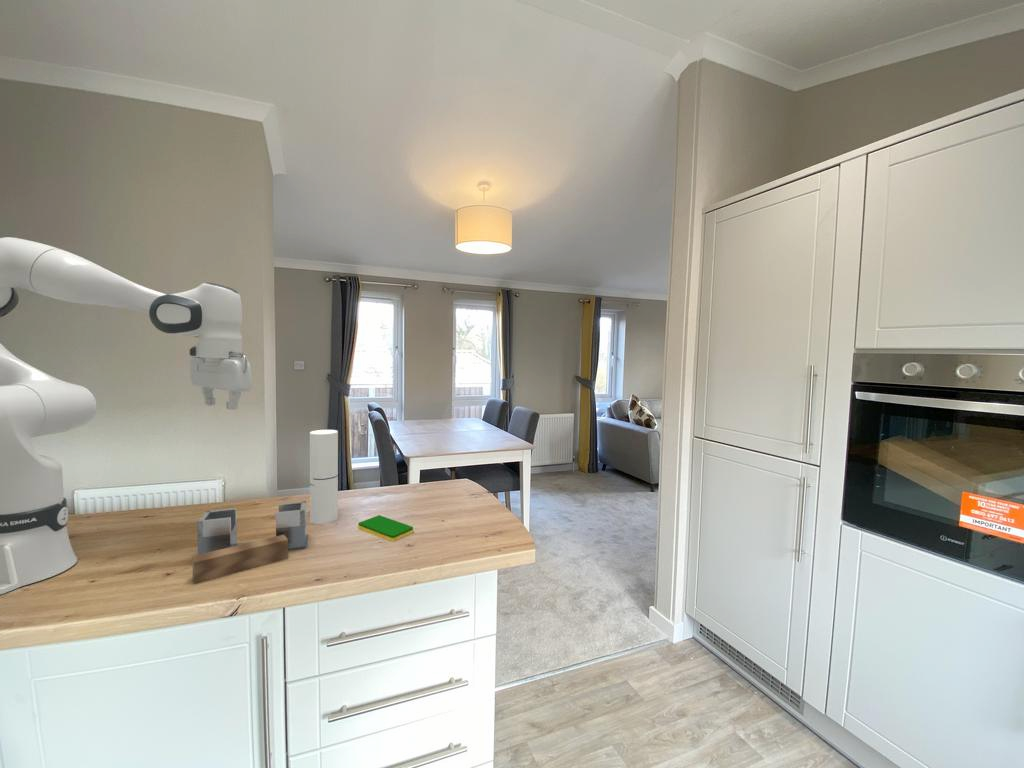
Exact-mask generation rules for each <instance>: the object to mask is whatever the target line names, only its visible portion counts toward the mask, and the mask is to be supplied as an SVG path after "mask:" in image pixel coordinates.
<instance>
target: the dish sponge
mask: <svg viewBox="0 0 1024 768" xmlns="http://www.w3.org/2000/svg"><path fill="white" fill-rule="evenodd" d="M358 530H359V531H363V532H365V533H368V534H371V535H373V536H376V537H378V538H381V539H383V540H387V541H390V542H392V543H393V542H395V541H398V540H400V539H403V538H405V537H408V536H409V535H411V534H413V533H414V527H413V526H412V525H408V524H405V523H402V522H400V521H397V520H395V519H392V518H388V517H386V516H383V515H381V514H379V515H376V516H373V517H371V518H368V519H365V520H362V521H360V522H358Z"/></svg>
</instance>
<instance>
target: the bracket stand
mask: <svg viewBox="0 0 1024 768" xmlns="http://www.w3.org/2000/svg"><path fill="white" fill-rule="evenodd" d="M196 523H197V524H196V525H197V526H196V527H197V555H199V554H204V553H208V552H212V551H216V550H220V549H225V548H229V547H233V546H237V545H242V544H246V543H250V542H251V541H245V542H239V543H238V536H237V535H238V530H237V529H238V527H237V526H238V525H237V523H238V522H237V507H233V508H224V509H215V510H214V509H213V510H206V511H204V512H203V514H202V516H201V517H200V518H199V520H198V521H197V522H196ZM279 535H285V536H286V538H287V539H288V552H290V551H297V550H298V551H299V550H302V549H303V550H305V549H308V545H309V538H310V536H309V535H310V534H308V533H307V500H304V501H295V502H284V503H279V504H278V511H277V512H275V536H279ZM254 541H255V540H254ZM254 541H252V542H254Z"/></svg>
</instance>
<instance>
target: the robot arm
mask: <svg viewBox="0 0 1024 768" xmlns="http://www.w3.org/2000/svg"><path fill="white" fill-rule="evenodd" d="M16 288H17V289H23V290H28V291H30V292H33V293H36V294H39V295H42V296H45V297H48V298H52V299H56V300H59V301H63V302H70V303H75V304H76V303H77V304H81V305H92V306H104V307H112V308H114V307H115V308H120V309H121V308H122V309H127V310H128V309H129V310H134V311H136V312H139V313H143V314H147V315H148V316H149V320H150V322H151V324H152V325H153V326H154V327H155V328H156V329H157V330H158V331H160V332H162V333H165V334H169V335H173V336H180V337H181V336H182V337H183V336H184V337H194V338H198V342H196V344H194V345H193V346H191V347H189V348H188V350H187V353H188V354H187V355H188V357H190V361H189V373H190V375H189V378H190V381H191V384H192V386H195V387H201V394H202V395H203V398H204V405H206V406H209V407H210V406H215V405H216V398H215V397H214V393H213V392H214V391H215V390H221V391H227V392H228V396H229V399H228V401H226V407H225V408H226V409H228V410H237V409H238V402H239V400H240V398H241V396H242V393H244V392H250V391H251V390H252V388H253V377H252V368H251V364H250V362H249V360H248V358H247V356H246V355H245V353H243V336H242V332H241V331H242V326H243V305H242V304H243V303H242V298H241V294H240V293H239V292H238V291H237V290H236V289H234V288H232V287H229V286H224V285H222V284H218V283H214V282H204V283H201V284H200V285H198V286H197V287H195V288H191V289H190V290H186V291H182V292H175V293H171V294H169V293H164V292H162V291H158V290H155V289H152V288H149V287H146V286H143V285H140V284H138V283H136V282H134V281H131V280H130V279H127V278H125V277H124V276H121V275H119V274H117V273H114V272H112V271H111V270H109V269H106V268H104V267H103V266H100V265H99V264H97V263H94V262H93V261H91V260H88V259H86V258H84V257H82V256H79V255H77V254H75V253H72V252H69V251H67V250H64V249H62V248H58V247H55V246H52V245H49V244H44V243H41V242H37V241H34V240H33V241H32V240H28V239H25V238H19V237H9V236H6V237H5V236H4V237H0V318H2V317H4V316H6V315H8V314H9V313H11V312H12V311H13V310H14V309H16V307H17V305H18V304H19V299H20V298H19V294H18V292H17V290H16ZM214 389H215V390H214ZM97 405H98V404H97V400H96V398H95V396H94V394H93V393H92V392H91V391H90V390H89V389H88V388H87V387H85V386H82V385H80V384H76V383H71V382H68V381H64V380H62V379H59V378H57V377H54V376H52V375H50V374H49V373H48V374H47V373H45V372H44V371H42V370H40V369H39V368H36V367H34V366H32V365H31V364H29V363H27V362H25V361H23V360H22V359H20V358H18V357H17V356H15V355H14V354H13V353H12V352H10V350H8V349H7V348H6V347H5V346H4V345H3V344H2V343H1V342H0V595H4V594H6V593H8V592H11V591H13V590H14V591H15V590H16V589H19V588H20V587H24V586H27V585H30V584H33V583H37V582H41V581H43V580H46V579H49V578H52V577H54V576H56V575H59V574H61V573H64V572H65V571H67V570H68V569H70V568H72V567H73V566H74V565H75V564H76V563H77V562H78V557H77V556H76V554H75V552H74V549H73V546H72V545H71V541H70V538H69V537H70V536H69V533H68V527H67V525H68V521H69V520H68V519H69V510H68V503H67V501H68V500H67V498H66V497H65V496H64V476H63V466H62V464H61V463H60V462H59V461H58V460H56V459H55V458H52V457H50V456H47V455H43V454H40V453H37V452H36V450H35V448H34V447H33V444H32V438H36V437H42V436H49V435H53V434H59V433H64V432H68V431H71V430H73V429H76V428H79V427H82V426H84V425H87V424H89V422H91V421H92V420H93V419H94V418H95V415H96V412H97V408H98V407H97Z"/></svg>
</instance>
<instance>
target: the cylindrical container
mask: <svg viewBox="0 0 1024 768" xmlns="http://www.w3.org/2000/svg"><path fill="white" fill-rule="evenodd" d="M338 519H339V432H338V430H337V429H319V430H318V429H317V430H312V431H310V432H309V522H310V524H312V525H326V524H331V523H334V522H336V521H337V520H338Z"/></svg>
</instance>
